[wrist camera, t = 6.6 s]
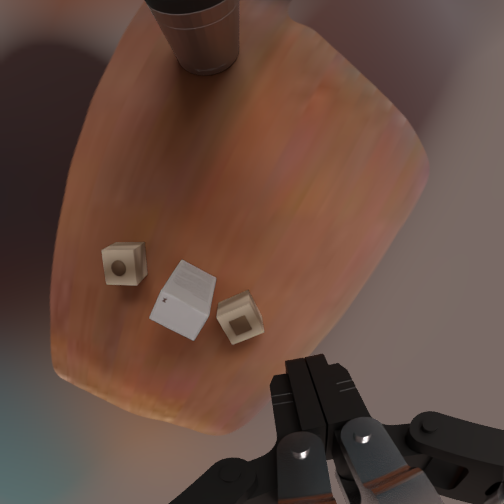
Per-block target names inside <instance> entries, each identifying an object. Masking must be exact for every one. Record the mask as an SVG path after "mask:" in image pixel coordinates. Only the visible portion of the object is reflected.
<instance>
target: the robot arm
mask: <svg viewBox="0 0 504 504" xmlns="http://www.w3.org/2000/svg"><path fill="white" fill-rule="evenodd" d="M145 2H146V3H147V5H148V7H149V8H150V10H151V12H152V14H153V15H154V17H155V19H156V21H157V23H158V24H159V26H160V28H161V30H162V32H163V33H164V35H165V37H166V39H167V41H168V43H169V44H170V46H171V48H172V50H173V52H174V54H175V56H176V58H177V60H178V61H179V63H180V65H181V66H182V67H183V68H184V69H185V70H187V71H188V72H190V73H192V74H196V75H213V74H216V73H219V72H222V71H224V70H225V69H227V68H228V67H230V66H231V65H232V64H233V63H234V61H235V60H236V58H237V56H238V53H239V0H145ZM285 367H286V374H281V375H274V376H273V379H272V381H271V383H270V391H271V398H272V405H273V411H274V418H275V425H276V432H277V441H276V444H275V446H274V447H273V448H272V450H271V451H270V452H269V453H267V454H265V455H264V456H261V457H259V458H257V459H254V460H252V461H249V462H248V461H246V460H243V459H240V458H226V459H222V460H220V461H218V462H216V463H215V464H214V465H213V466H211V467H210V468H209V469H208V470H207V471H206V472H205V473H204V474H203V475H202V476H201V477H199V478H198V479H197V480H196V481H195V482H194V483H193V484H191V485H190V486H189V487H188V488H187V489H186V490H185V491H183V492H182V493H181V494H180V495H179V496H177V497H176V498H175V499H174V500H172V501H171V502H170V503H169V504H337V503H336V500H335V498H333V495H332V490H331V484H330V478H329V472H328V466H327V461H326V460H330V459H333V460H334V463H335V466H336V470H335V476H336V479H337V482H338V484H339V486H340V489H341V491H342V494H343V496H344V499H345V501H346V504H444V503H443V501H442V500H441V498H440V496H439V495H443V496H446V497H449V498H452V499H456V500H460V501H464V502H468V503H472V504H504V430H500V429H496V428H492V427H488V426H484V425H479V424H475V423H472V422H468V421H465V420H461V419H458V418H454V417H451V416H447V415H444V414H441V413H438V412H432V411H428V412H423V413H420V414H419V415H417V416H416V417H415V418H413V420H412V422H411V423H410V424H401V425H385V424H381V423H380V422H379V421H378V420H376V419H374V418H372V417H371V416H370V414H369V412H368V410H367V408H366V406H365V404H364V402H363V400H362V398H361V396H360V394H359V392H358V390H357V389H356V387H355V384H354V382H353V381H352V378H351V376H350V374H349V373H348V371H347V370H346V369H345V368H344V367H342V366H341V365H340V364H339V363H336V364H332V365H328V363H327V361H326V359H325V356H324V355H323V354H319V355H314V356H309V357H305V358H299V359H293V360H287V361H285ZM438 494H439V495H438Z"/></svg>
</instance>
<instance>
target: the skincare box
mask: <svg viewBox="0 0 504 504" xmlns="http://www.w3.org/2000/svg"><path fill="white" fill-rule="evenodd" d="M215 284H216V277H214V276H212V275H210V274H208V273H206V272H204V271H202V270H201V269H199V268H197V267H195V266H193V265H191V264H189V263H188V262H186V261H184V260H181V261H180V262H179V264H178V265H177V267H176V269H175V270H174V271H173V273H172V274H171V276H170V278H169V279H168V281H167V282H166V284H165V285H164V287H163V288H162V290H161V291H160V294H159V296H158V298H157V301H156V303H155V305H154V307H153V310H152V312H151V314H150V317H149V318H150V319H151V320H153V321H155V322H157V323H159V324H161V325H162V326H164V327H166V328H168V329H170V330H172V331H174V332H176V333H178V334H180V335H183V336H185V337H187V338H189V339H191V340H193V341H194V340H195V339H196V337H197V335H198V334H199V332H200V330H201V329H202V327H203V326H204V324H205V322H206V321H207V319H208V317H209V315H210V308H211V303H212V298H213V293H214V289H215Z"/></svg>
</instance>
